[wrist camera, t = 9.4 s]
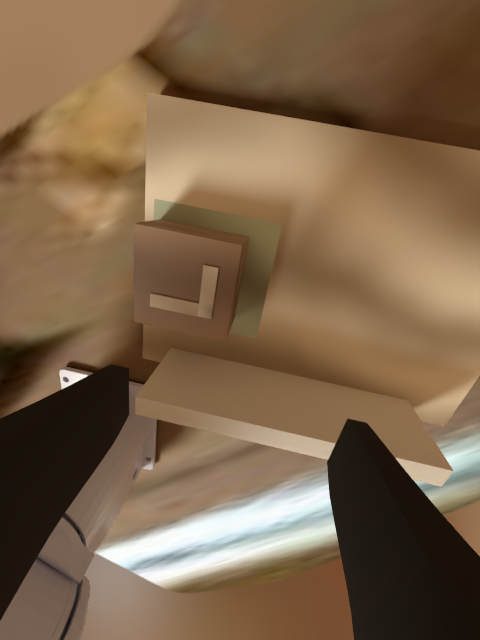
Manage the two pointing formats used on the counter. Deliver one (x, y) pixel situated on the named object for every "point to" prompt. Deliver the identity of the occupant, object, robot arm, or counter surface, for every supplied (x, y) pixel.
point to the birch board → (329, 247)
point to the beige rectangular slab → (284, 410)
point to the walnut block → (187, 277)
